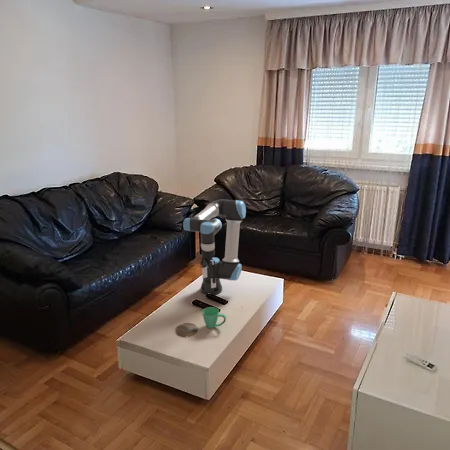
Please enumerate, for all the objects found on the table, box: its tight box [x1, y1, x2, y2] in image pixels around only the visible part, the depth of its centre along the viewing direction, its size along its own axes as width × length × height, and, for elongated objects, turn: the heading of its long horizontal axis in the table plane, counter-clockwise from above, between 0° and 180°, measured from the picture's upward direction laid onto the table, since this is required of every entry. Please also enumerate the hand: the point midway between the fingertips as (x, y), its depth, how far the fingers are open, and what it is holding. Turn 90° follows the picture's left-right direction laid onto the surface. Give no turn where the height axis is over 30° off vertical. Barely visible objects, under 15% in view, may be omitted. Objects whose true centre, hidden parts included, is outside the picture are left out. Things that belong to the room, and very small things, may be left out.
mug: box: [201, 306, 227, 329], centre depth 234 cm, size 15×10×10 cm
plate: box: [175, 322, 199, 338], centre depth 232 cm, size 13×13×1 cm
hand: (209, 282), depth 232 cm, fingers open, 13 cm apart
